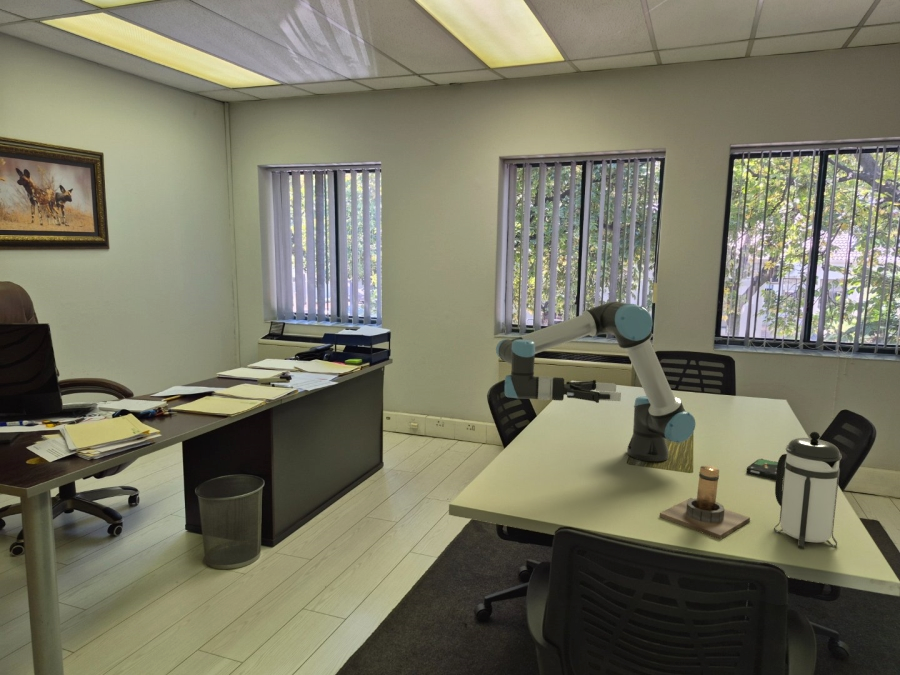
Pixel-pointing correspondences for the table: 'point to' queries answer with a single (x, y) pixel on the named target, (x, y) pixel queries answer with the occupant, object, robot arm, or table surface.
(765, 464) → the disk drive
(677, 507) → the collar plate
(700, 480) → the copper tube
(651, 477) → the table surface
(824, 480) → the coffee press
